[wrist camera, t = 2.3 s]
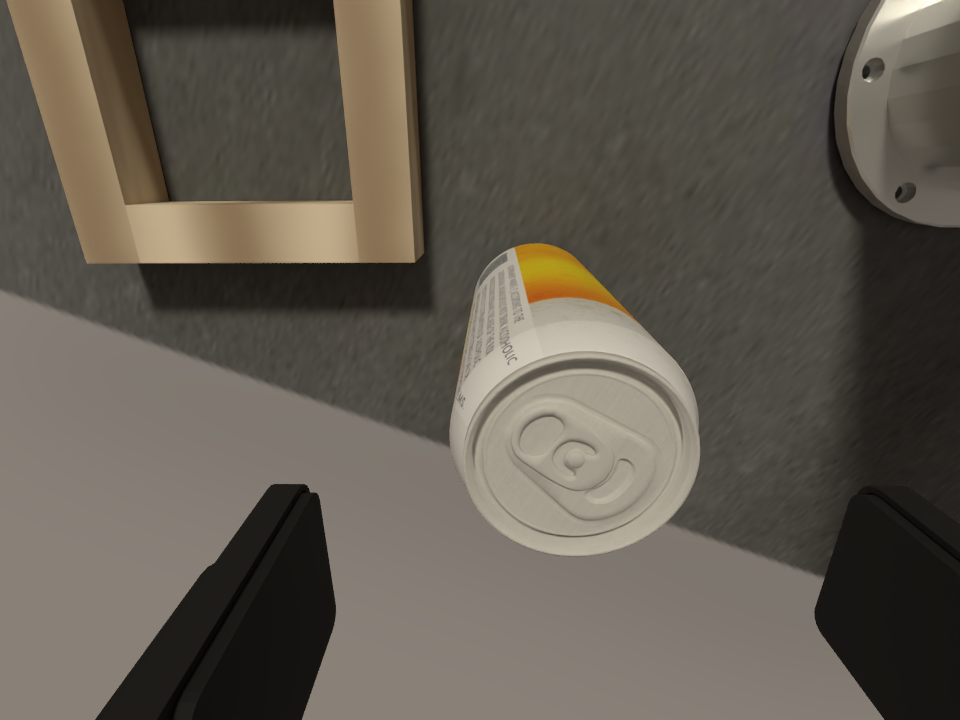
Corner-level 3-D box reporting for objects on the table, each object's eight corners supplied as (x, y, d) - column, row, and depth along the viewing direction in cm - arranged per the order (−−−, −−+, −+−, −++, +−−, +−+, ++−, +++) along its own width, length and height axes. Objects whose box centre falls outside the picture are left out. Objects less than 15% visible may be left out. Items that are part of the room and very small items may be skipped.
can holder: (405, -139, 18) (389, -195, 16) (424, 252, 24) (414, 262, 21) (31, -128, 19) (-49, -180, 16) (133, 253, 24) (86, 263, 22)
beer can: (540, 376, 26) (591, 606, 12) (450, 311, 25) (393, 485, 11) (616, 289, 24) (779, 444, 10) (523, 215, 23) (564, 276, 9)
